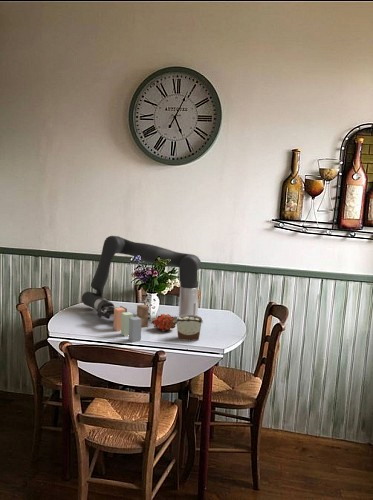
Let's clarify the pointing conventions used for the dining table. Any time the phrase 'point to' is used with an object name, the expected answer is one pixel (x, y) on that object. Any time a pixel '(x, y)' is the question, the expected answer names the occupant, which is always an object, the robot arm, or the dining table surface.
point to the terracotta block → (118, 317)
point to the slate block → (134, 329)
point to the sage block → (125, 323)
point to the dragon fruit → (164, 322)
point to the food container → (188, 326)
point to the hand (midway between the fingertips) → (117, 315)
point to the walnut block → (143, 315)
